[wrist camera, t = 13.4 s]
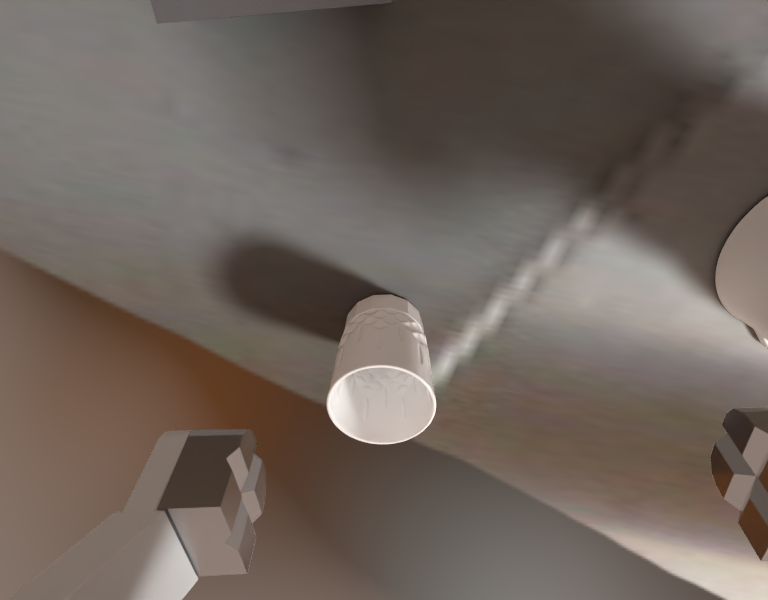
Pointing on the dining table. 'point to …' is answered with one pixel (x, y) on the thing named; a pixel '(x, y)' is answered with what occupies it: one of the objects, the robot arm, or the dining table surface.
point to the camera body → (241, 7)
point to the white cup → (382, 373)
